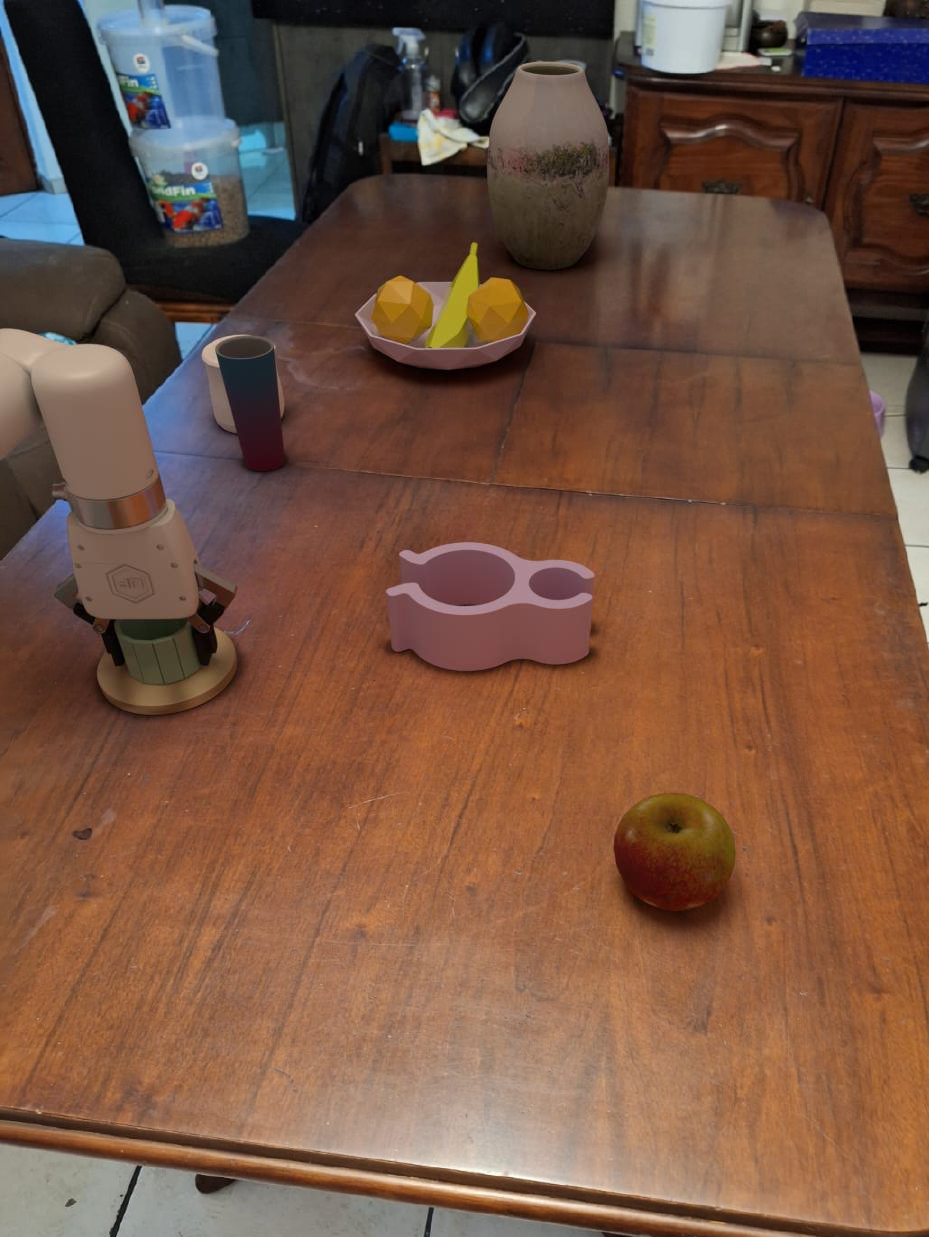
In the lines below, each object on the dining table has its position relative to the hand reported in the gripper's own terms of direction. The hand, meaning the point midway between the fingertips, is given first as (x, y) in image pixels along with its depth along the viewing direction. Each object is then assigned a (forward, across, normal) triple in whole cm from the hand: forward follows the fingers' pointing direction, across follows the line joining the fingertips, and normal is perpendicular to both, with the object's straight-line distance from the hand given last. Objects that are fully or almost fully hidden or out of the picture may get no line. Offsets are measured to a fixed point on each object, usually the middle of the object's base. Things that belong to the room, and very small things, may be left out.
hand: (165, 656), depth 99 cm
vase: (+2, +42, +117) cm, 125 cm away
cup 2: (+2, +3, +42) cm, 42 cm away
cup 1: (+2, -1, +53) cm, 53 cm away
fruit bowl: (+2, +26, +77) cm, 81 cm away
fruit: (+2, +46, -27) cm, 53 cm away
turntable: (+2, 0, 0) cm, 2 cm away
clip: (+2, +32, +6) cm, 32 cm away
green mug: (+1, 0, +1) cm, 2 cm away
